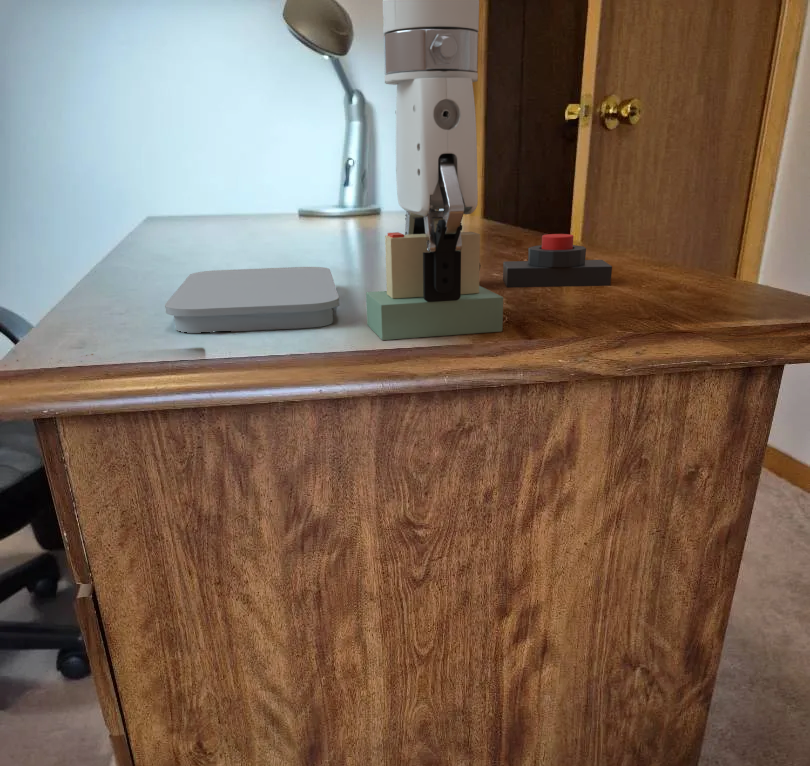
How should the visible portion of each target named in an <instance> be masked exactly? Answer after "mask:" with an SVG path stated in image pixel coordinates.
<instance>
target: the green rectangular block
mask: <svg viewBox="0 0 810 766" xmlns="http://www.w3.org/2000/svg"><path fill="white" fill-rule="evenodd" d="M365 301H366V303H365V304H366V322H367V326H368V327H369V328H370V329H371V330H372V331H373V333H375V334H376V336H378V337H379V339H380V340H381V341H390V340H391V341H393V340H403V339H405V340H406V339H417V338H418V339H419V338H432V337H446V336H447V337H448V336H461V335H473V334H487V333H498V332H499V333H501V332H503V323H504V321H503V320H504V296H502V295H499V294H497V293H496V292H494V291H491V290H490V289H487V288H485V287H483V286H482V285H479V293H475V294H461V296H460V298H459V299H458V300H454V301H438V302H427V301H426V300H424V298H423V297H411V298H395V299H392V298H391V297H390V296H389V295H387V290H381V291H366V292H365Z"/></svg>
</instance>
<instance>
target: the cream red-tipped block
mask: <svg viewBox="0 0 810 766" xmlns="http://www.w3.org/2000/svg"><path fill="white" fill-rule="evenodd" d="M461 240H462V249H461V294H475V293H479V286H480V271H481V266H480V265H481V262H480V261H481V234H480V233H479V232H475V231H461ZM384 245H385V246H384V247H385V278H386V291H387V295H389V296H390V297H391V298H392V299H395V298H411V297H423V252H427V245H426V235H425V234H411V235H405V233H401V232H399V231H397V232H387V235H385V236H384Z"/></svg>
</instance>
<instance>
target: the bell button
mask: <svg viewBox="0 0 810 766" xmlns="http://www.w3.org/2000/svg"><path fill="white" fill-rule="evenodd" d="M574 238H575V237H574V234H570V233H549V234H543V235H542V236H541V245H542V249H545V250H567V249H573V245H574Z"/></svg>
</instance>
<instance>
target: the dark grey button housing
mask: <svg viewBox="0 0 810 766" xmlns="http://www.w3.org/2000/svg"><path fill="white" fill-rule="evenodd" d="M527 251H528V254H527V255H528V256H527V260H517V261H514V260H512V261H511V260H509V261H503V264H502V265H503V266H502V281H503V284H504V285H505V287H506V288H551V287H552V288H554V287H555V288H557V287H559V288H561V287H610V286H612V285H611V283H612V274H613V273H612V272H613V266H612V265H611V264H609V263H608V262H606V261H605V260H603V259H586V256H587V255H586V254H587V248H586V247H585V246H582V245H577V244H573V249H567V250H545V249H542V244H541V245H533V246H530V247H528V250H527Z"/></svg>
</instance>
